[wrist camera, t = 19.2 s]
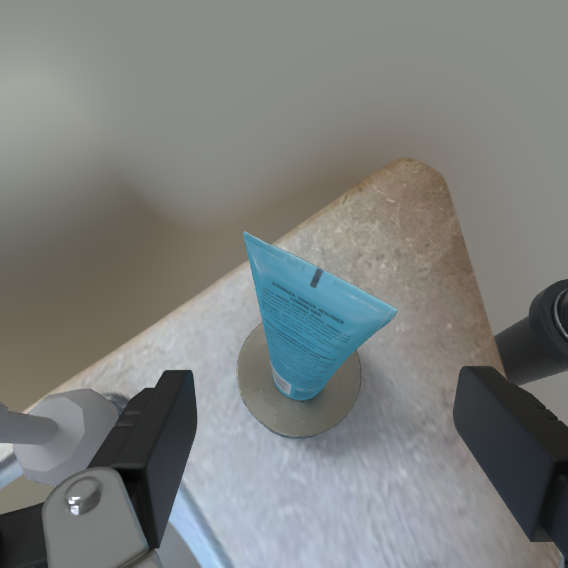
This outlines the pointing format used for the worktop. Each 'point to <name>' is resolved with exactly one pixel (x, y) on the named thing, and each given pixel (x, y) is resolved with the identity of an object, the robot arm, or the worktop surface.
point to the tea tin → (283, 410)
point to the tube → (309, 318)
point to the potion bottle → (58, 434)
